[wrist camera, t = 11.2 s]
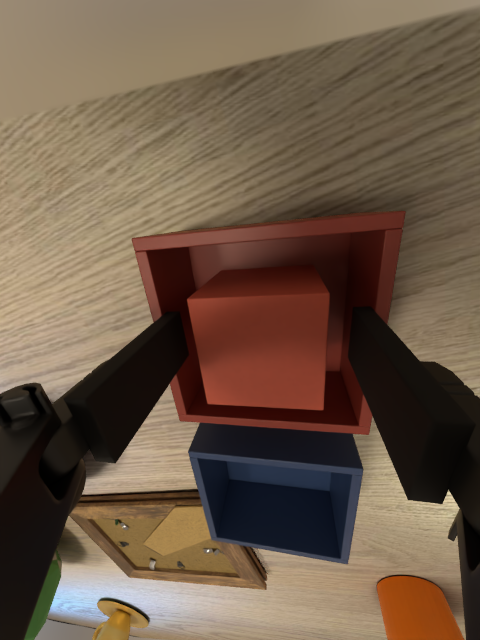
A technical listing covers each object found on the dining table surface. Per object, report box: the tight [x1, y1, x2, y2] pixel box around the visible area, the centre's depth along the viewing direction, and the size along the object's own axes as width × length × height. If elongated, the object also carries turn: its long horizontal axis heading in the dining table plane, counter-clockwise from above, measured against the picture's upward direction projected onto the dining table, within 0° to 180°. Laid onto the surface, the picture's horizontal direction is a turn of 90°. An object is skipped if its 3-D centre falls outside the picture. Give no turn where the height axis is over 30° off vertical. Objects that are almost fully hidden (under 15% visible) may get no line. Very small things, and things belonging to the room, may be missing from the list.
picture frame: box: [69, 492, 267, 590], centre depth 32 cm, size 19×2×24 cm
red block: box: [187, 265, 330, 410], centre depth 14 cm, size 6×6×6 cm
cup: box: [92, 601, 148, 640], centre depth 49 cm, size 12×12×5 cm
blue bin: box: [188, 423, 363, 564], centre depth 20 cm, size 11×11×6 cm
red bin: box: [132, 211, 406, 435], centre depth 14 cm, size 11×11×6 cm
